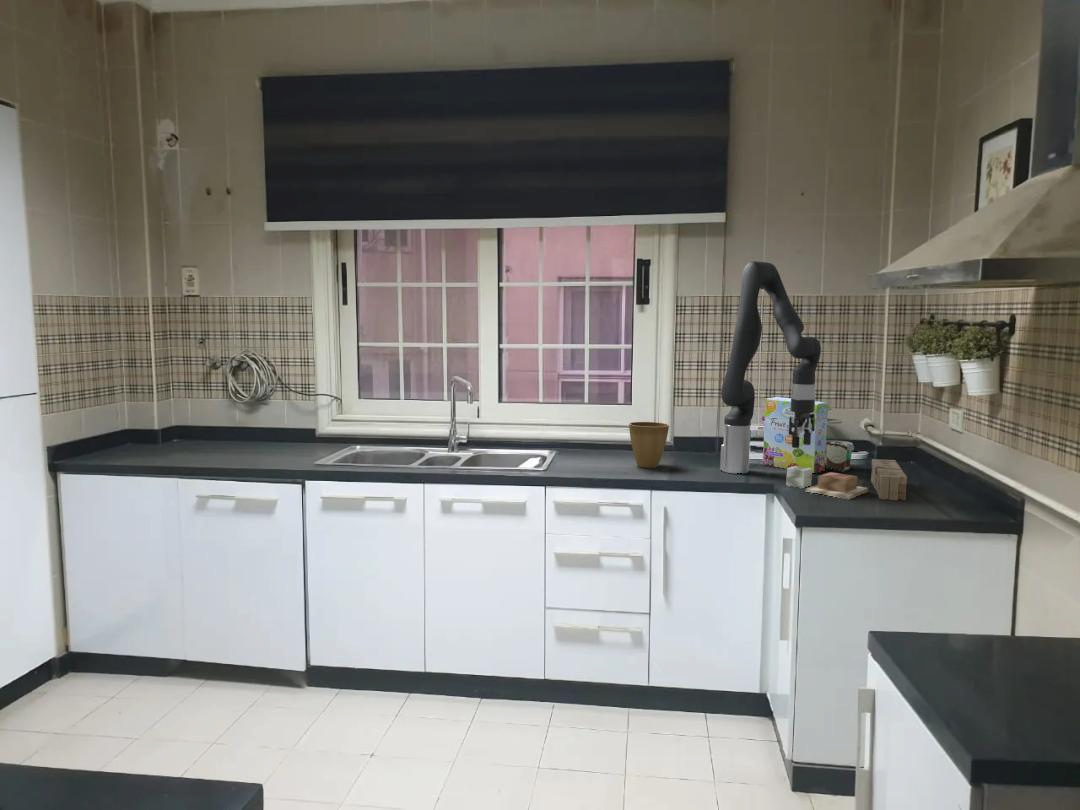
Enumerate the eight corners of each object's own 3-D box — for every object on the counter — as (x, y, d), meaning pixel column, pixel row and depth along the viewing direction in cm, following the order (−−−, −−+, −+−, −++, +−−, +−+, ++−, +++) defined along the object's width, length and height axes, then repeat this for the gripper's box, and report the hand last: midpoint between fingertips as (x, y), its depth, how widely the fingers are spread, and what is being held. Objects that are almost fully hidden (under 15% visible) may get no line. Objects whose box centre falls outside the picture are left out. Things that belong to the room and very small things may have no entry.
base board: (805, 492, 252) (806, 475, 252) (826, 484, 264) (827, 469, 263) (848, 499, 243) (849, 482, 242) (868, 491, 254) (869, 475, 254)
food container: (860, 471, 288) (862, 444, 287) (847, 472, 286) (848, 445, 284) (836, 465, 299) (837, 439, 298) (823, 466, 297) (824, 440, 296)
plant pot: (668, 470, 285) (669, 427, 283) (626, 469, 287) (627, 426, 285) (667, 463, 299) (669, 421, 297) (628, 461, 302) (629, 420, 300)
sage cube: (786, 486, 262) (786, 468, 261) (794, 483, 266) (795, 465, 266) (803, 488, 258) (804, 470, 257) (811, 486, 262) (812, 468, 262)
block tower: (906, 504, 242) (895, 482, 270) (908, 478, 241) (896, 458, 268) (878, 502, 245) (870, 480, 272) (880, 476, 243) (871, 457, 271)
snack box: (760, 465, 297) (763, 398, 294) (773, 462, 303) (776, 396, 300) (813, 474, 281) (817, 403, 278) (826, 471, 287) (829, 401, 284)
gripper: (801, 395, 267) (800, 442, 268) (782, 398, 256) (780, 447, 258) (823, 396, 261) (821, 445, 263) (804, 400, 251) (802, 450, 253)
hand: (801, 446), depth 261 cm, fingers open, 8 cm apart
